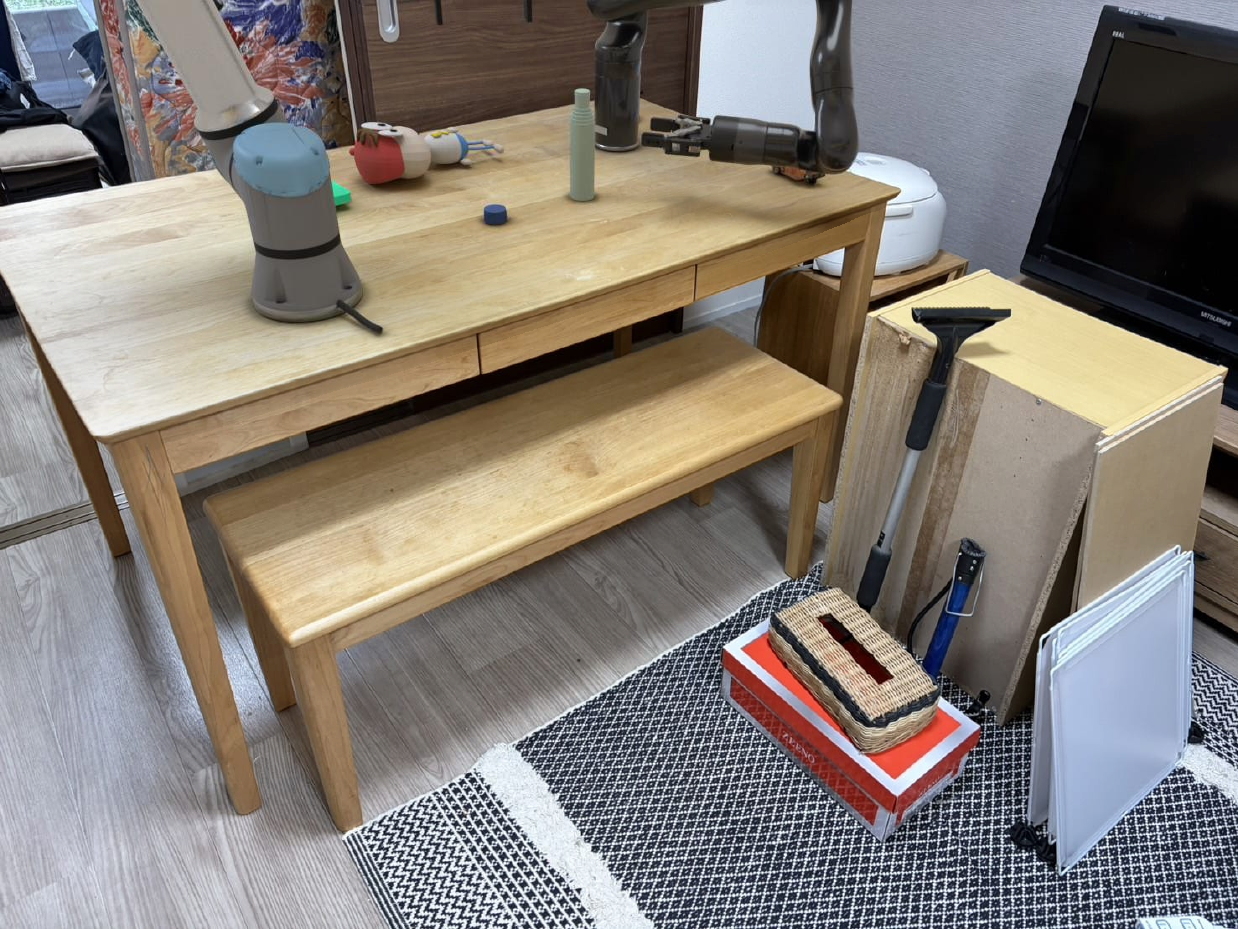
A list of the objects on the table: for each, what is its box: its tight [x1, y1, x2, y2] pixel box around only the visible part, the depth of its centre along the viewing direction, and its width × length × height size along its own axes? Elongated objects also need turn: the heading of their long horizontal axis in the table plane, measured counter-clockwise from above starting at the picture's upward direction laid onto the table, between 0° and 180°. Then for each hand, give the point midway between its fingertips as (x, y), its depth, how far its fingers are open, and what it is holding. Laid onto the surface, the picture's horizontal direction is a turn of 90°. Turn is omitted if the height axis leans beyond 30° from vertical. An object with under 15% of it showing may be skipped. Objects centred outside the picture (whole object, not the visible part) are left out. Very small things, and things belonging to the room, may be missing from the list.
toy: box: [348, 121, 505, 185], centre depth 177 cm, size 18×10×30 cm
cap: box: [483, 203, 508, 226], centre depth 159 cm, size 4×4×2 cm
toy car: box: [771, 166, 826, 186], centre depth 178 cm, size 6×12×7 cm, turn 39°
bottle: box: [569, 88, 596, 202], centre depth 164 cm, size 4×4×19 cm
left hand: (484, 21), depth 141 cm, fingers open, 13 cm apart
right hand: (646, 131), depth 160 cm, fingers open, 8 cm apart
